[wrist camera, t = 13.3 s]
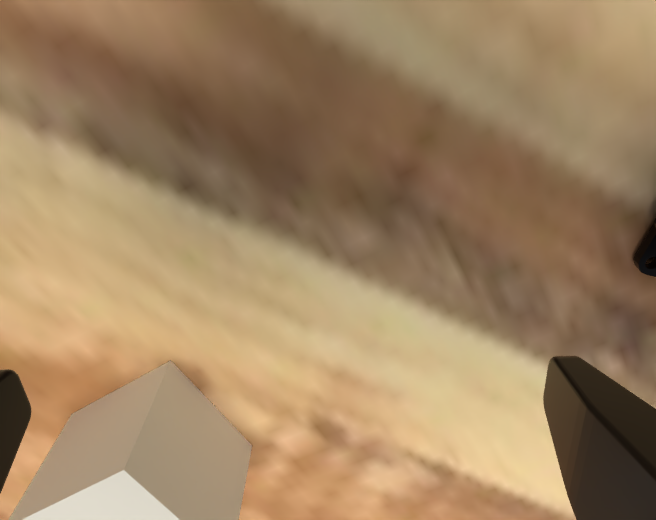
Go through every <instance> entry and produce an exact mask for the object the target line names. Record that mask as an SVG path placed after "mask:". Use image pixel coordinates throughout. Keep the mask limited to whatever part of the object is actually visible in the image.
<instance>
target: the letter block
mask: <svg viewBox="0 0 656 520" xmlns="http://www.w3.org/2000/svg"><path fill="white" fill-rule="evenodd" d="M251 450H252V445H251V444H250V443H249V442H248V441H247V440H246V438H245V437H244V436H243V435H242V434H241V433H240V432H239V431H238V430H237V429H236V428H235V427H234V426H233V425H232V424H231V423H230V422H229V421H228V420H227V419H226V418H225V416H224V415H223V414H222V413H221V412H220V411H219V410H218V409H217V408H216V407H215V406H214V405H213V404H212V403H211V402H210V401H209V400H208V399H207V398H206V397H205V396H204V394H203V393H202V392H201V391H200V390H199V389H198V388H197V387H196V386H195V385H194V384H193V383H192V382H191V381H190V380H189V379H188V378H187V377H186V376H185V375H184V374H183V372H182V371H181V370H180V369H179V368H178V367H177V366H176V365H175V364H174V363H173V362H172V361H171V360H170V361H169V362H167V363H165V364H163V365H161V366H159V367H157V368H156V369H154V370H152V371H150V372H148V373H146V374H145V375H143V376H141V377H139V378H137V379H135V380H133V381H132V382H130V383H128V384H126V385H124V386H122V387H121V388H119V389H117V390H115V391H113V392H111V393H109V394H108V395H106V396H104V397H102V398H100V399H98V400H97V401H95V402H93V403H91V404H89V405H87V406H85V407H84V408H82V409H80V410H78V411H76V412H74V413H73V414H71V416H70V418H69V419H68V421H67V423H66V424H65V426H64V428H63V429H62V431H61V433H60V434H59V436H58V438H57V439H56V441H55V443H54V444H53V446H52V448H51V449H50V451H49V453H48V454H47V456H46V458H45V460H44V461H43V463H42V465H41V466H40V468H39V470H38V471H37V473H36V475H35V476H34V478H33V480H32V481H31V483H30V485H29V486H28V488H27V490H26V491H25V493H24V495H23V496H22V498H21V500H20V501H19V503H18V505H17V506H16V508H15V510H14V511H13V513H12V515H11V516H10V518H9V520H239V515H240V509H241V504H242V499H243V493H244V488H245V483H246V477H247V472H248V466H249V461H250V456H251Z"/></svg>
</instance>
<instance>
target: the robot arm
mask: <svg viewBox="0 0 656 520" xmlns="http://www.w3.org/2000/svg"><path fill="white" fill-rule="evenodd" d="M651 257H654V260H653V261H652V262H650V263H648V264H645V263H646V261H647V260H648V259H649V258H651ZM634 264H635V266H636V267H637V268H638V269H639V270H640V271H641V272H642V273H644V274H646V275H650V276H654V277H656V218H655V220H654V224H653V226H652V228H651V229H650V231H649V233H648V234H647V236H646V238H645V239H644V241H643V243H642V244H641V246H640V248H639V249H638V251H637V253H636V254H635V257H634ZM543 401H544V409H545V413H546V417H547V421H548V425H549V428H550V432H551V436H552V440H553V443H554V447H555V451H556V455H557V458H558V462H559V466H560V470H561V473H562V477H563V481H564V484H565V488H566V491H567V495H568V498H569V501H570V503H571V506H572V509H573V512H574V514H575V517H576V519H577V520H656V409H655V408H653V407H652V406H650V405H649V404H648V403H646V402H645V401H643V400H642V399H640V398H639V397H637V396H636V395H634V394H633V393H631V392H630V391H628V390H627V389H625V388H624V387H623V386H621V385H620V384H618V383H617V382H615V381H614V380H612V379H611V378H609V377H608V376H606V375H605V374H603V373H602V372H600V371H599V370H598V369H596V368H595V367H593V366H592V365H590V364H589V363H587V362H586V361H584V360H583V359H581V358H579V357H577V356H555V357H553V358H552V359H551V360H550V362H549V365H548V371H547V377H546V383H545V389H544V397H543ZM30 417H31V406H30V403H29V400H28V398H27V395H26V393H25V390H24V388H23V385H22V383H21V381H20V378H19V376H18V374H17V373H16V372H15V371H13V370H0V493H1V491H2V488H3V486H4V483H5V481H6V478H7V476H8V473H9V471H10V468H11V466H12V463H13V461H14V458H15V456H16V453H17V451H18V448H19V446H20V443H21V441H22V438H23V436H24V433H25V431H26V428H27V426H28V423H29V421H30Z"/></svg>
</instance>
